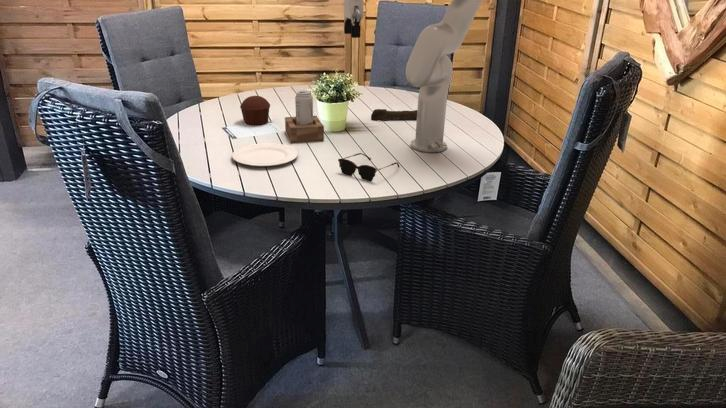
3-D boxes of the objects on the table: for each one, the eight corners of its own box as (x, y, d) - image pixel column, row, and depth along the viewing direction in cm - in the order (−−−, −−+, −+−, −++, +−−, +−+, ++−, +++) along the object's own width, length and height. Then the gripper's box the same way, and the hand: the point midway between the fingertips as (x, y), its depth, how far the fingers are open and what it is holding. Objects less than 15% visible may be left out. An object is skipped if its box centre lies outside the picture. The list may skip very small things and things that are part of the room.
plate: (234, 173, 161) (233, 167, 160) (230, 150, 179) (229, 145, 178) (303, 168, 166) (303, 162, 165) (292, 146, 184) (292, 141, 183)
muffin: (261, 128, 201) (260, 102, 196) (235, 125, 204) (233, 98, 200) (276, 120, 211) (275, 95, 207) (251, 117, 214) (249, 92, 210)
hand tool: (416, 118, 219) (417, 107, 217) (418, 121, 216) (419, 109, 214) (370, 118, 217) (370, 107, 215) (371, 121, 214) (371, 110, 212)
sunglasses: (337, 173, 163) (337, 157, 161) (366, 162, 176) (367, 147, 174) (375, 184, 156) (376, 168, 154) (403, 171, 169) (404, 156, 167)
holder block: (323, 141, 189) (323, 126, 187) (291, 143, 186) (290, 128, 184) (316, 130, 201) (316, 115, 198) (285, 131, 198) (285, 117, 195)
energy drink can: (312, 136, 190) (311, 94, 184) (295, 136, 190) (294, 94, 184) (314, 131, 196) (313, 90, 189) (297, 131, 196) (296, 89, 189)
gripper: (370, -15, 180) (369, 39, 187) (356, -18, 195) (355, 32, 202) (348, -15, 178) (348, 39, 185) (336, -18, 193) (336, 32, 200)
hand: (352, 35), depth 193 cm, fingers open, 9 cm apart
